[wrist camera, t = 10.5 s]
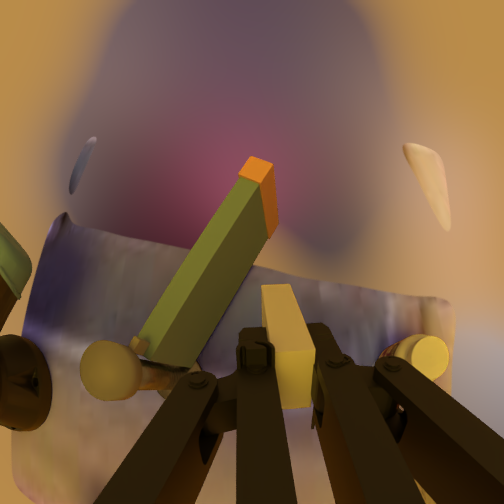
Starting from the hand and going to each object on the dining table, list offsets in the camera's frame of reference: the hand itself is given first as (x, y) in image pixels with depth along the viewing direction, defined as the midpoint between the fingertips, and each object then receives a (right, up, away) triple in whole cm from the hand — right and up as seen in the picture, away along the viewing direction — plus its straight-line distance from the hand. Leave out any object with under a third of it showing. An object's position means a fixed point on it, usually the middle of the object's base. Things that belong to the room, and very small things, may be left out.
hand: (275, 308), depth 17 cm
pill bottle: (+15, -10, +15) cm, 24 cm away
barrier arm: (-5, -3, +20) cm, 20 cm away
